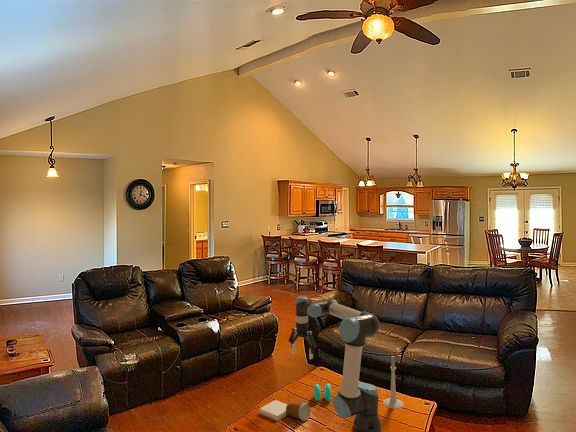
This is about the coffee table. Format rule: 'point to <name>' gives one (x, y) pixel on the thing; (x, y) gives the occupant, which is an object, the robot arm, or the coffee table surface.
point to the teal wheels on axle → (318, 392)
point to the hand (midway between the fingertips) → (302, 356)
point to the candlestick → (393, 390)
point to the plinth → (274, 410)
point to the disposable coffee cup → (298, 410)
